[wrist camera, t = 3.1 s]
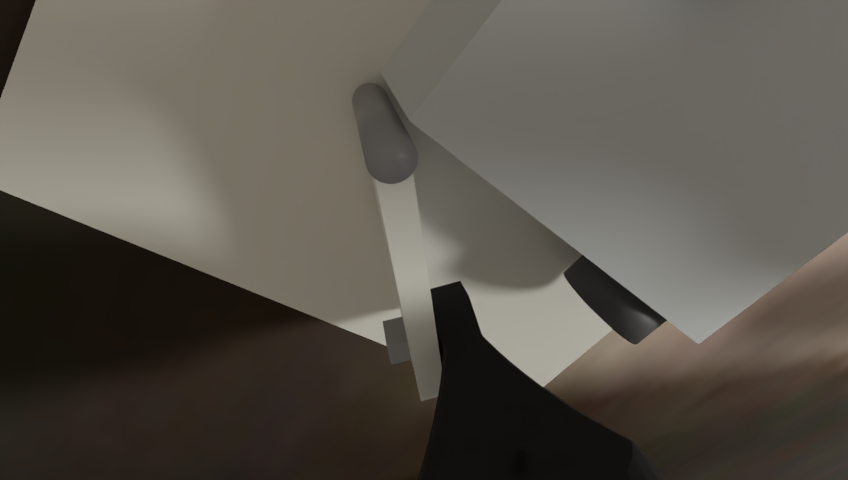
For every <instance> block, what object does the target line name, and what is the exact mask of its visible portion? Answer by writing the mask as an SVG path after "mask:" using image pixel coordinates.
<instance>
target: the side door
mask: <svg viewBox="0 0 848 480" xmlns="http://www.w3.org/2000/svg"><path fill="white" fill-rule="evenodd" d="M352 106H353V110H354V115H355V119H356V124H357V128H358V132H359V137H360V141H361V146H362V150H363V155H364V159H365V164H366V167H367V170H368V172H369V173H370V175H371V176H372V180H373V185H374V189H375V194H376V199H377V203H378V208H379V213H380V218H381V222H382V227H383V232H384V236H385V241H386V246H387V250H388V255H389V260H390V265H391V269H392V274H393V279H394V283H395V288H396V293H397V298H398V302H399V307H400V312H401V316H402V317H398V318H394V319H390V320H386V321H383V327H384V333H385V339H386V345H387V349H388V353H389V357H390V361H391V365H392V364H396V363H400V362H404V361H408V360H412V364H413V369H414V373H415V377H416V382H417V386H418V390H419V395H420V399H421V401H423V400H427V399H431V398H435V397H438V394H439V387H440V380H441V371H442V366H441V359H440V352H439V345H438V339H437V332H436V325H435V318H434V311H433V304H432V298H431V291H430V284H429V277H428V270H427V264H426V257H425V250H424V243H423V236H422V229H421V223H420V216H419V209H418V202H417V195H416V188H415V182H414V175H413V172H414V171H415V169H416V166H417V163H418V153H417V149H416V147H415V145H414V143H413V141H412V140H411V138H410V136H409V134H408V132H407V130H406V129H405V127H404V125H403V123H402V121H401V119H400V117H399V116H398V114H397V112H396V110H395V108H394V106H393V104H392V103H391V101H390V99H389V97H388V95H387V93H386V92H385V90H384V89H383V88H382V87H381V86H379V85H377V84H374V83H366V84H363V85H361V86H359V87H358V88H357V89H356V90H355V92H354V94H353V97H352Z"/></svg>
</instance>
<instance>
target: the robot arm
mask: <svg viewBox="0 0 848 480" xmlns="http://www.w3.org/2000/svg"><path fill="white" fill-rule="evenodd" d="M430 291H431V298H432V304H433V311H434V318H435V325H436V332H437V339H438V345H439V352H440V359H441V366H442V371H441V380H440V387H439V394H438V400H437V405H436V410H435V415H434V420H433V425H432V429H431V434H430V437H429V441H428V445H427V449H426V453H425V457H424V460H423V464H422V467H421V471H420V474H419V477H418V480H664V478H663V476H662V475H661V474H660V472H659V471H658V470H657V468H656V467H655V466H654V465H653V464H652V462H651V461H650V460H649V459H648V458H647V456H646V455H645V454H644V453H643V452H642V451H641V450H640V449H639V448H638V446H637V445H636V444H635V443H634V442H633V441H631V440H630V439H628V438H626V437H624V436H622V435H620V434H618V433H617V432H615V431H613V430H611V429H609V428H607V427H606V426H604V425H602V424H600V423H599V422H597V421H595V420H593V419H592V418H590V417H588V416H587V415H585V414H583V413H582V412H580V411H578V410H577V409H575V408H573V407H572V406H570V405H569V404H567V403H566V402H564V401H563V400H561V399H560V398H558V397H557V396H556V395H554V394H553V393H551V392H550V391H548V390H547V389H545V388H544V387H542V386H541V385H539V384H538V383H537V382H536V381H534V380H533V379H532V378H530V377H529V376H528V375H526V374H525V373H524V372H522V371H521V370H520V369H519V368H518V367H516V366H515V365H514V364H513V363H512V362H510V361H509V360H508V359H507V358H506V357H505V356H503V355H502V354H501V353H500V352H499V351H498V350H497V349H496V348H495V347H494V346H493V345H492V344H491V343H489V342H488V341H487V340H486V339H485V338H484V337H483V336H482V333H481V330H480V328H479V325H478V322H477V319H476V316H475V313H474V310H473V307H472V304H471V301H470V298H469V295H468V294H467V292H466V290H465V288H464V286H463V285H462V283H461V281H458V282H454V283H450V284H447V285H443V286H439V287H436V288H432V289H430Z"/></svg>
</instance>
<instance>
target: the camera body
mask: <svg viewBox="0 0 848 480" xmlns="http://www.w3.org/2000/svg"><path fill="white" fill-rule="evenodd" d="M381 74H382V76H383V77H384V79H385V81H386V82H387V84H388V86H389V88H390V89H391V91H392V93H393V94H394V96H395V98H396V99H397V101H398V103H399V104H400V106H401V108H402V109H403V111H404V113H405V114H406V116H407V118H408V119H409V121H410V122H411V123H413V124H414V125H415V126H417V127H418V128H419V129H420V130H422V131H423V132H424V133H426V134H427V135H428V136H429V137H431V138H432V139H433V140H435V141H436V142H437V143H439V144H440V145H441V146H442V147H444V148H445V149H446V150H448V151H449V152H450V153H452V154H453V155H454V156H455V157H457V158H458V159H459V160H461V161H462V162H463V163H464V164H466V165H467V166H468V167H470V168H471V169H472V170H474V171H475V172H476V173H477V174H479V175H480V176H481V177H483V178H484V179H485V180H486V181H488V182H489V183H490V184H492V185H493V186H494V187H496V188H497V189H498V190H499V191H501V192H502V193H503V194H505V195H506V196H507V197H508V198H510V199H511V200H512V201H514V202H515V203H516V204H518V205H519V206H520V207H521V208H523V209H524V210H525V211H527V212H528V213H529V214H530V215H532V216H533V217H534V218H536V219H537V220H538V221H540V222H541V223H542V224H543V225H545V226H546V227H547V228H549V229H550V230H551V231H552V232H554V233H555V234H556V235H558V236H559V237H560V238H562V239H563V240H564V241H565V242H567V243H568V244H569V245H571V246H572V247H573V248H574V249H576V250H577V251H578V252H580V253H581V254H582V256H581V257H580V258H579V259H578V260H577V261H575V262H574V263H573V264H572V265H571V266H570V267H569V268H568V269H567V270H566V271H565V272H564V276H565V278H566V280H567V281H568V283H569V284H570V285H571V287H572V288H573V289H574V290H575V292H576V293H577V294H578V295H579V296H580V297H581V298H582V300H583V301H584V302H585V303H586V304H587V305H588V306H589V307H590V308H591V309H592V310H593V311H594V312H595V313H596V314H597V315H598V316H599V317H600V318H601V319H602V320H603V321H604V322H605V323H607V324H608V325H609V326H610V327H611V328H612V329H613V330H615V331H616V332H617V333H618V334H619V335H621V336H622V337H623V338H625V339H626V340H627V341H629V342H631V343H633V344H638V343H639V342H640V341H641V340H643V339H644V338H645V337H646V336H648V335H649V334H650V333H651V332H653V331H654V330H655V329H656V328H658V327H659V326H660V325H661V324H663V323H664V322H665V321H667V320H668V321H669V322H670V323H672V324H673V325H674V326H675V327H677V328H678V329H679V330H681V331H682V332H683V333H684V334H686V335H687V336H688V337H690V338H691V339H692V340H694V341H695V342H696V343H697V344H699V343H701V342H702V341H703V340H705V339H706V338H707V337H709V336H710V335H711V334H713V333H714V332H715V331H717V330H718V329H719V328H721V327H722V326H723V325H725V324H726V323H727V322H729V321H730V320H731V319H733V318H734V317H735V316H737V315H738V314H739V313H741V312H742V311H743V310H745V309H746V308H747V307H749V306H750V305H751V304H753V303H754V302H755V301H757V300H758V299H759V298H761V297H762V296H763V295H765V294H766V293H767V292H769V291H770V290H771V289H773V288H774V287H775V286H777V285H778V284H779V283H781V282H782V281H783V280H785V279H786V278H787V277H789V276H790V275H791V274H793V273H794V272H795V271H797V270H798V269H799V268H801V267H802V266H803V265H805V264H806V263H807V262H809V261H810V260H811V259H813V258H814V257H815V256H817V255H818V254H819V253H821V252H822V251H823V250H825V249H826V248H827V247H829V246H830V245H831V244H833V243H834V242H835V241H837V240H838V239H839V238H841V237H842V236H843V235H845V234H846V233H847V232H848V0H431V1H430V2H429V4H428V5H427V7H426V8H425V9H424V11H423V12H422V14H421V15H420V16H419V18H418V19H417V21H416V22H415V24H414V25H413V26H412V28H411V29H410V31H409V32H408V34H407V35H406V36H405V38H404V39H403V41H402V42H401V43H400V45H399V46H398V48H397V49H396V51H395V52H394V53H393V55H392V56H391V58H390V59H389V61H388V62H387V63H386V65H385V66H384V68H383V69H382V70H381Z"/></svg>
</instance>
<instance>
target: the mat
mask: <svg viewBox="0 0 848 480" xmlns="http://www.w3.org/2000/svg"><path fill="white" fill-rule="evenodd" d="M430 1H431V0H36V1H35V4H34V7H33V10H32V12H31V15H30V18H29V21H28V23H27V26H26V29H25V32H24V35H23V37H22V40H21V43H20V46H19V48H18V51H17V54H16V57H15V59H14V62H13V65H12V68H11V70H10V73H9V76H8V79H7V82H6V84H5V87H4V90H3V93H2V95H1V98H0V190H1V191H4V192H6V193H9V194H11V195H14V196H16V197H19V198H21V199H23V200H26V201H28V202H31V203H33V204H36V205H38V206H41V207H43V208H46V209H48V210H51V211H53V212H56V213H58V214H61V215H63V216H66V217H68V218H71V219H73V220H76V221H78V222H80V223H83V224H85V225H88V226H90V227H93V228H95V229H98V230H100V231H103V232H105V233H108V234H110V235H113V236H115V237H118V238H120V239H123V240H125V241H128V242H130V243H133V244H135V245H138V246H140V247H142V248H145V249H147V250H150V251H152V252H155V253H157V254H160V255H162V256H165V257H167V258H170V259H172V260H175V261H177V262H180V263H182V264H185V265H187V266H190V267H192V268H195V269H197V270H199V271H202V272H204V273H207V274H209V275H212V276H214V277H217V278H219V279H222V280H224V281H227V282H229V283H232V284H234V285H237V286H239V287H242V288H244V289H247V290H249V291H252V292H254V293H256V294H259V295H261V296H264V297H266V298H269V299H271V300H274V301H276V302H279V303H281V304H284V305H286V306H289V307H291V308H294V309H296V310H299V311H301V312H304V313H306V314H309V315H311V316H314V317H316V318H318V319H321V320H323V321H326V322H328V323H331V324H333V325H336V326H338V327H341V328H343V329H346V330H348V331H351V332H353V333H356V334H358V335H361V336H363V337H366V338H368V339H371V340H373V341H375V342H378V343H380V344H383V345H385V346H387V345H386V339H385V333H384V327H383V321H386V320H390V319H394V318H398V317H402V316H401V312H400V307H399V302H398V298H397V293H396V288H395V283H394V279H393V274H392V269H391V265H390V260H389V255H388V250H387V246H386V241H385V236H384V232H383V227H382V222H381V218H380V213H379V208H378V203H377V199H376V194H375V189H374V185H373V180H372V176H371V175H370V173H369V172H368V170H367V167H366V164H365V159H364V155H363V150H362V146H361V141H360V137H359V132H358V128H357V124H356V119H355V115H354V110H353V106H352V97H353V94H354V92H355V90H356V89H357V88H358V87H359V86H361V85H363V84H366V83H374V84H377V85H379V86H381V87H382V88H383V89H384V90H385V92H386V93H387V95H388V97H389V99H390V101H391V103H392V104H393V106H394V108H395V110H396V112H397V114H398V116H399V117H400V119H401V121H402V123H403V125H404V127H405V129H406V130H407V132H408V134H409V136H410V138H411V140H412V141H413V143H414V145H415V147H416V149H417V153H418V163H417V166H416V169H415V171H414V172H413V175H414V182H415V188H416V195H417V202H418V209H419V216H420V223H421V229H422V236H423V243H424V250H425V257H426V264H427V270H428V277H429V284H430V289H432V288H436V287H439V286H443V285H447V284H450V283H454V282H458V281H461V283H462V285H463V286H464V288H465V290H466V292H467V294H468V295H469V298H470V301H471V304H472V307H473V310H474V313H475V316H476V319H477V322H478V325H479V328H480V330H481V333H482V336H483V337H484V338H485V339H486V340H487V341H488V342H489V343H491V344H492V345H493V346H494V347H495V348H496V349H497V350H498V351H499V352H500V353H501V354H502V355H503V356H505V357H506V358H507V359H508V360H509V361H510V362H512V363H513V364H514V365H515V366H516V367H518V368H519V369H520V370H521V371H522V372H524V373H525V374H526V375H528V376H529V377H530V378H532V379H533V380H534V381H536V382H537V383H538V384H539V385H541V386H542V387H544V386H545V385H546V384H547V383H549V382H550V381H551V380H552V379H553V378H555V377H556V376H557V375H558V374H559V373H561V372H562V371H563V370H564V369H565V368H567V367H568V366H569V365H570V364H571V363H573V362H574V361H575V360H576V359H577V358H579V357H580V356H581V355H582V354H584V353H585V352H586V351H587V350H588V349H590V348H591V347H592V346H593V345H594V344H596V343H597V342H598V341H599V340H600V339H602V338H603V337H604V336H605V335H606V334H608V333H609V332H610V331H611V330H612V328H611V327H610V326H609V325H608V324H607V323H605V322H604V321H603V320H602V319H601V318H600V317H599V316H598V315H597V314H596V313H595V312H594V311H593V310H592V309H591V308H590V307H589V306H588V305H587V304H586V303H585V302H584V301H583V300H582V298H581V297H580V296H579V295H578V294H577V293H576V292H575V290H574V289H573V288H572V287H571V285H570V284H569V283H568V281H567V280H566V278H565V276H564V272H565V271H566V270H567V269H568V268H569V267H570V266H571V265H572V264H573V263H574V262H575V261H577V260H578V259H579V258H580V257H581V256H582V254H581V253H580V252H578V251H577V250H576V249H574V248H573V247H572V246H571V245H569V244H568V243H567V242H565V241H564V240H563V239H562V238H560V237H559V236H558V235H556V234H555V233H554V232H552V231H551V230H550V229H549V228H547V227H546V226H545V225H543V224H542V223H541V222H540V221H538V220H537V219H536V218H534V217H533V216H532V215H530V214H529V213H528V212H527V211H525V210H524V209H523V208H521V207H520V206H519V205H518V204H516V203H515V202H514V201H512V200H511V199H510V198H508V197H507V196H506V195H505V194H503V193H502V192H501V191H499V190H498V189H497V188H496V187H494V186H493V185H492V184H490V183H489V182H488V181H486V180H485V179H484V178H483V177H481V176H480V175H479V174H477V173H476V172H475V171H474V170H472V169H471V168H470V167H468V166H467V165H466V164H464V163H463V162H462V161H461V160H459V159H458V158H457V157H455V156H454V155H453V154H452V153H450V152H449V151H448V150H446V149H445V148H444V147H442V146H441V145H440V144H439V143H437V142H436V141H435V140H433V139H432V138H431V137H429V136H428V135H427V134H426V133H424V132H423V131H422V130H420V129H419V128H418V127H417V126H415V125H414V124H413V123H411V122H410V121H409V119H408V118H407V116H406V114H405V113H404V111H403V109H402V108H401V106H400V104H399V103H398V101H397V99H396V98H395V96H394V94H393V93H392V91H391V89H390V88H389V86H388V84H387V82H386V81H385V79H384V77H383V76H382V74H381V70H382V69H383V68H384V66H385V65H386V63H387V62H388V61H389V59H390V58H391V56H392V55H393V53H394V52H395V51H396V49H397V48H398V46H399V45H400V43H401V42H402V41H403V39H404V38H405V36H406V35H407V34H408V32H409V31H410V29H411V28H412V26H413V25H414V24H415V22H416V21H417V19H418V18H419V16H420V15H421V14H422V12H423V11H424V9H425V8H426V7H427V5H428V4H429V2H430Z"/></svg>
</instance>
